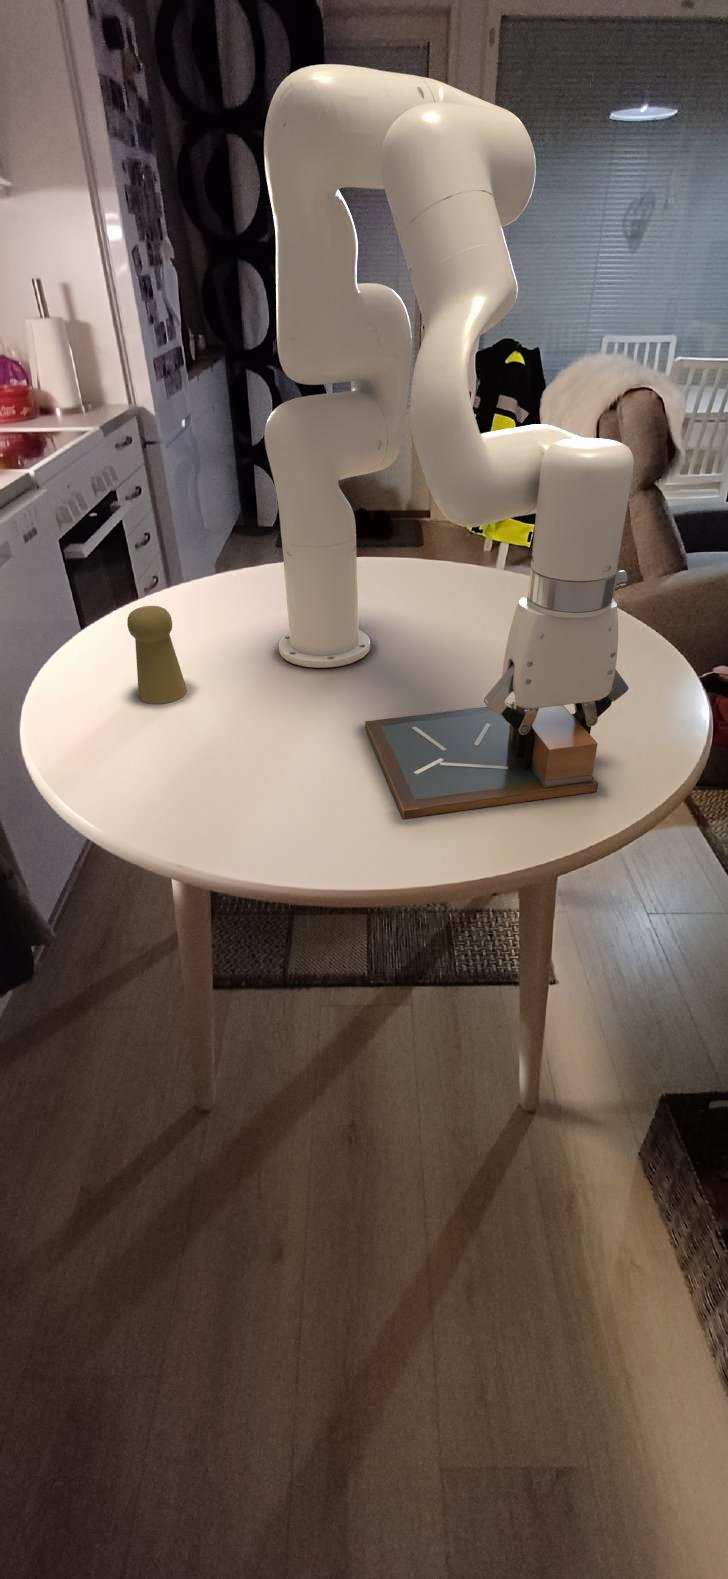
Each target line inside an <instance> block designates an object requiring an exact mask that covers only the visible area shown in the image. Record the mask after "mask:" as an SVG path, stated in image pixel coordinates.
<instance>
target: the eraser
mask: <svg viewBox="0 0 728 1579" xmlns="http://www.w3.org/2000/svg"><path fill="white" fill-rule="evenodd" d="M511 704H512V707H514V705H515V701H512V703H511ZM572 714H573V713H572V712H571V711H569V710H568V708H567V707H566V705H560V706H551V707H542V708H539V711H538V713H537V716H536V718H535V720H534V723H533V725H532V727H531V731H532V732H533V734H534V746H533V755H532V763H531V766H530V768H531V769H532V771H533V772H534V774H535V775H536V776H537V778H538V779H539V781H540V782H541V784H542V785H543V786H544V787H551V786H559V785H566V784H573V783H581V782H588V781H591V780H592V776H593V775H594V774H593V773H594V769H595V761H596V756H597V750H598V742H597V741H596V740H595V739H594V738H593V736H592V735H591V733H590V734H589V733H588V732H587V731H586V730H585V729H584V727H583V726H582V725H581V724H580V723H579V722H578V721H577V720H576V718H575V717H574V716H573V715H572ZM512 737H513V726H512V725H511V724H510V733H509V739H510V740H511V741H512Z"/></svg>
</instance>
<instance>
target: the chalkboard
mask: <svg viewBox="0 0 728 1579" xmlns="http://www.w3.org/2000/svg"><path fill="white" fill-rule="evenodd" d="M508 704H509V705H511V706H512V703H508ZM364 725H365V728H364V729H365V731H366V733H367V736H368V739H369V740H370V743H371V745H372V748H373V750H374V753H375V755H376V757H377V760H378V762H379V764H380V767H381V769H382V772H383V774H384V777H385V778H386V781H387V784H388V787H389V788H390V791H391V793H392V795H393V798H394V800H395V802H396V805H397V807H398V810H399V812H400V814H401V817H402V819H410V818H419V817H425V816H431V815H439V814H446V813H453V812H460V811H467V810H468V811H469V810H475V809H482V808H489V807H495V806H496V807H497V806H502V805H504V806H505V805H511V804H518V803H525V802H532V801H539V800H547V799H553V798H559V797H567V796H568V797H569V796H575V795H582V794H583V795H584V794H589V793H596V792H598V789H599V782H597V780H596V779H595V777H594V776H593V775H592V780H591V781H588V782H581V783H573V784H566V785H559V786H551V787H544V786H543V785H542V784H541V782H540V781H539V779H538V778H537V776H536V775H535V774H534V772H533V771H532V769H531V768H530V767H529V768H524V767H523V766H522V764H521V763H520V762H519V760H518V759H517V758H515V757H514V755H513V754H512V749H511V748H512V741H511V740H510V739H509V733H510V723H508V722H507V721H506V720H505V719H504V718H503V717H502V716H500V715H498V714H497V713H495V712H494V711H492V710H491V709H489V708H488V706H482V707H481V706H480V707H474V708H466V709H457V710H449V711H447V710H446V711H439V712H432V713H423V714H414V715H406V716H398V717H390V718H389V717H388V718H381V719H372V720H365V722H364Z"/></svg>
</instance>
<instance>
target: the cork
mask: <svg viewBox="0 0 728 1579" xmlns="http://www.w3.org/2000/svg"><path fill="white" fill-rule="evenodd" d="M126 623H127V629H128V632H129V633H130V636H132V637H133V638H134V641H135V658H136V674H137V689H138V690H137V691H138V692H137V693H138V699H139V700H140V701H142V703H145V704H151V705H163V704H169V703H172V702H176V701H178V700H181V699H182V698H183V697H184V696H185V695H186V694H187V692H188V688H187V685H186V681H185V679H184V676H183V673H182V669H181V666H180V664H179V660H178V657H177V653H176V650H175V648H174V644H173V641H172V638H171V635H170V634H171V633H172V630H173V620H172V616H171V614H170V612H169V611H168V610H167V609H166V608H165V607H162V606H160V605H145V606H139V607H137V608H135V609H133V610H132V611H131V612H130V613H128V616H127V622H126Z"/></svg>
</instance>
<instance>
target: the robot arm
mask: <svg viewBox="0 0 728 1579" xmlns="http://www.w3.org/2000/svg"><path fill="white" fill-rule="evenodd" d="M263 155H264V156H263V157H264V158H263V159H264V171H265V178H266V183H267V184H266V185H267V190H268V195H269V200H270V204H271V209H272V210H271V211H272V215H273V216H272V218H273V223H274V231H275V285H276V286H275V294H276V295H275V297H276V298H275V300H276V305H275V306H276V308H275V310H276V342H277V355H278V359H279V363H280V366H281V368H282V371H283V372H284V374H285V375H286V377H288V378H289V380H290V379H291V380H292V381H294V382H295V383H298V384H301V385H307V386H308V385H310V386H317V385H320V386H321V385H330V384H340V383H349V382H350V390H346V391H340V392H339V391H338V392H329V393H320V394H313V395H305V396H300V397H295V398H292V399H290V400H286V401H284V402H283V403H281V404H279V405H277V407H275V408H274V409H273V411H272V412H270V415H269V416H268V418H267V421H266V423H265V426H264V427H265V428H264V446H265V451H266V455H267V460H268V462H269V468H270V471H271V474H272V478H273V484H274V487H275V493H276V500H277V507H278V515H279V517H278V518H279V526H280V536H281V544H282V545H281V546H282V560H283V572H284V584H285V598H286V607H287V620H288V633H286V634H285V635H284V636H283V637H282V638H281V639H280V640H279V643H278V651H279V654H280V656H281V657H282V658H283V659H284V660H285V661H287V662H289V663H291V664H294V665H297V666H301V667H306V668H316V669H318V668H319V669H321V668H323V669H324V668H325V669H326V668H336V667H342V666H346V665H349V664H352V663H355V662H358V661H360V660H361V659H363V658H364V657H365V656H366V655H368V653H369V652H370V650H371V639H370V637H369V635H367V634H366V633H365V632H363V630H360V629H359V596H358V593H359V592H358V562H357V560H358V559H357V558H358V557H357V533H356V532H357V527H356V517H355V514H354V510H353V508H352V506H351V503H350V502H349V500H348V499H347V498H346V496H345V493H343V491H342V489H341V488H340V484H339V481H342V480H345V479H348V478H353V477H358V476H362V475H363V476H364V475H367V474H371V473H372V474H373V473H376V472H379V471H383V470H386V469H387V468H388V467H390V466H391V465H392V464H394V462H395V461H396V460H397V458H398V456H399V455H400V452H401V449H402V447H403V442H404V438H405V429H406V418H407V407H408V396H409V386H410V374H411V363H412V351H413V335H412V325H411V321H410V317H409V314H408V311H407V307H406V305H405V303H404V302H403V299H402V298H401V297H400V295H399V294H398V293H397V292H396V291H395V290H393V288H391V287H389V286H387V285H384V284H380V283H375V282H373V283H372V282H370V283H369V282H368V283H367V282H366V283H364V282H363V283H358V282H357V281H358V280H357V272H358V270H357V269H358V268H357V267H358V254H359V253H358V252H359V251H358V250H359V244H358V243H359V242H358V241H359V240H358V235H357V229H356V226H355V222H354V220H353V217H352V214H351V212H350V209H349V207H348V204H347V202H346V201H345V198H344V197H343V195H342V193H341V191H340V189H342V188H343V189H344V188H359V189H370V190H384V192H385V195H386V199H387V203H388V205H389V209H390V212H391V216H392V219H393V224H394V228H395V230H396V233H397V234H396V235H397V237H398V240H399V244H400V247H401V250H402V254H403V257H404V261H405V264H406V267H407V270H408V274H409V279H410V281H411V284H412V289H413V291H414V295H415V298H416V302H417V305H418V308H419V311H420V314H421V318H422V322H423V327H424V333H423V339H422V341H421V345H420V347H419V349H418V350H419V351H418V353H417V356H416V360H415V362H414V368H413V372H412V373H413V375H412V380H411V386H410V399H409V400H410V402H409V422H410V424H409V425H410V430H411V436H412V438H413V439H412V440H413V444H414V447H415V451H416V454H417V458H418V461H419V463H420V467H421V470H422V474H423V476H424V479H425V482H426V485H427V487H428V490H429V492H430V493H429V494H430V495H431V497H432V499H433V501H434V503H435V505H436V507H437V508H438V509H439V511H440V513H441V514H442V515H443V516H444V517H445V518H446V520H449V521H450V522H451V523H452V524H455V525H457V526H460V527H462V528H463V527H464V528H479V527H482V526H486V525H491V524H494V523H498V522H501V521H505V520H510V519H512V518H515V517H523V516H528V515H533V514H535V519H534V520H535V521H534V531H533V541H532V550H531V560H530V570H529V580H528V589H527V590H528V591H527V596H525V597H521V598H519V599H518V601H517V604H516V608H515V610H514V614H513V617H512V619H511V620H512V621H511V624H510V628H509V631H508V636H507V641H506V646H505V652H504V658H503V664H502V674H501V677H500V679H498V681H497V682H496V684H494V685H493V687H492V688H491V689H490V690H489V691H488V693H487V694H486V695H485V696H484V698H483V703H485V705H486V707H488V708H489V709H491V710H492V711H494V712H495V713H497V714H498V715H500V716H502V717H503V718H504V719H505V720H506V721H507V722H508V723H510V724H511V725H512V726H513V737H512V748H511V749H512V754H513V755H514V757H515V758H517V759H518V760H519V762H520V763H521V764H522V766H523V767H524V768H529V767H530V766H531V763H532V755H533V746H534V734H533V732H532V731H531V727H532V725H533V723H534V720H535V718H536V716H537V713H538V711H539V708H542V707H551V706H560V705H564V706H567V705H574V713H571V714H572V715H573V716H574V717H575V718H576V720H577V721H578V722H579V723H580V724H581V725H582V726H583V727H584V729H585V730H586V731H587V732H588V733H589V734H590V735H591V730H592V727H594V726H596V725H597V723H598V722H599V717H601V715H602V714H604V713H605V712H606V711H607V710H608V709H609V708H610V707H611V706H612V703H613V702H616V701H617V700H618V699H620V698H621V697H622V696H623V695H624V694H626V693H627V692H628V690H629V686H628V683H626V681H625V680H624V679H623V677H622V675H621V674H620V673H619V671H618V670H617V669H616V667H617V659H618V651H619V650H618V648H619V616H618V615H619V614H618V612H619V611H618V604H617V601H616V600H615V599H614V597H615V594H616V593H615V592H616V588H618V587H619V586H626V585H627V583H628V579H629V576H628V573H627V571H626V570H619V569H618V565H619V559H620V552H621V546H622V540H623V534H624V528H625V524H626V523H625V522H626V517H627V516H626V515H627V511H628V504H629V503H628V502H629V498H630V492H631V485H632V479H633V474H634V473H633V472H634V464H635V463H634V462H635V461H634V460H635V459H634V455H633V454H634V453H633V452H632V450H631V449H630V447H628V446H627V445H626V444H624V443H622V442H620V441H618V440H614V439H608V438H607V439H606V438H599V437H598V438H596V437H581V436H579V435H577V434H576V435H575V434H573V433H571V432H569V431H566V430H565V429H561V428H559V427H556V426H554V425H549V424H542V423H541V424H539V423H538V424H529V425H522V426H517V427H508V428H504V429H498V430H493V431H487V432H483V433H482V432H480V429H479V426H478V423H477V419H476V417H475V413H474V409H473V405H472V400H471V395H470V386H469V385H470V384H469V367H470V362H471V357H472V355H473V354H472V353H473V351H474V348H475V345H476V344H477V341H478V340H479V338H480V337H481V336H482V335H484V334H485V333H487V332H488V331H489V330H490V329H492V328H493V327H495V326H496V325H497V324H498V323H500V322H501V321H502V320H503V319H504V318H505V317H506V316H507V315H508V314H509V312H510V311H511V310H512V308H513V307H514V305H515V303H516V300H517V298H518V291H519V287H518V281H517V277H516V274H515V271H514V267H513V264H512V259H511V257H510V252H509V249H508V246H507V242H506V238H505V235H504V230H503V227H506V226H508V225H510V224H512V223H514V222H515V221H516V220H517V219H518V218H519V217H520V216H521V215H522V213H523V212H524V210H526V207H527V206H528V203H529V201H530V199H531V197H532V194H533V191H534V186H535V181H536V173H537V170H536V166H537V165H536V156H535V148H534V146H533V142H532V139H531V137H530V134H529V133H528V130H527V129H526V127H525V125H524V124H523V122H522V121H521V120H520V118H518V117H517V115H515V114H514V113H513V112H511V111H510V110H508V109H506V108H504V107H501V106H498V105H496V104H494V103H492V102H491V103H490V102H488V101H486V100H483V99H481V98H479V97H477V96H475V95H472V94H470V93H467V92H465V91H464V90H463V91H462V90H461V89H458V88H457V87H454V86H452V85H449V84H448V83H445V82H442V81H440V80H436V79H434V78H430V77H424V76H419V75H415V74H408V73H402V72H401V73H400V72H394V71H387V70H380V69H375V68H371V67H364V66H357V65H356V66H355V65H347V64H336V63H335V64H334V63H329V64H328V63H327V64H326V63H325V64H322V63H321V64H315V65H313V64H312V65H308V66H305V67H301V68H299V69H297V70H295V71H293V72H291V73H290V74H289V75H287V76H286V77H285V78H284V79H283V80H282V81H281V82H280V84H279V85H278V86H277V88H276V90H275V91H274V94H273V96H272V99H271V101H270V104H269V108H268V111H267V115H266V120H265V126H264V135H263ZM512 693H513V694H514V702H515V705H514V707H512V706H511V705H509V704H510V703H508V702H506V700H507V698H508V697H509V696H510V695H511V694H512Z"/></svg>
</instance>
